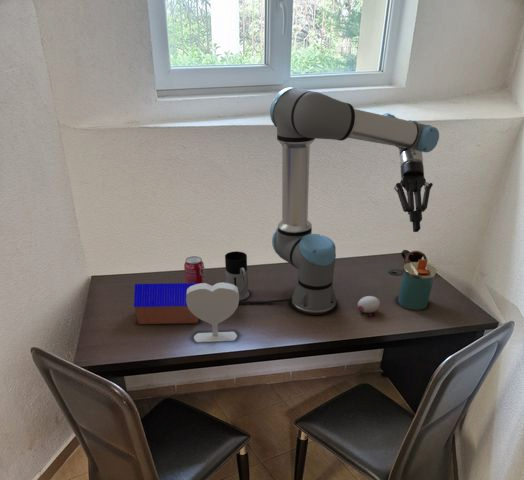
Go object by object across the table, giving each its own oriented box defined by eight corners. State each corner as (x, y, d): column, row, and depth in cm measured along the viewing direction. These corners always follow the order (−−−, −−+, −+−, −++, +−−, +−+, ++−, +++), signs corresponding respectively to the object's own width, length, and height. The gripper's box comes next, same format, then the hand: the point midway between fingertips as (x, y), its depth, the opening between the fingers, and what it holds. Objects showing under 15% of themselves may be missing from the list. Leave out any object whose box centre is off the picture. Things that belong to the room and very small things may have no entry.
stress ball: (373, 315, 161) (370, 296, 161) (384, 313, 153) (382, 293, 153) (353, 318, 159) (351, 298, 159) (364, 316, 151) (361, 296, 151)
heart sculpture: (240, 331, 147) (238, 280, 137) (240, 340, 143) (238, 288, 133) (191, 333, 146) (185, 282, 136) (190, 342, 142) (184, 290, 132)
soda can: (203, 284, 173) (201, 254, 166) (207, 292, 168) (205, 262, 161) (185, 286, 171) (181, 256, 164) (188, 295, 166) (185, 265, 159)
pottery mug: (430, 268, 185) (433, 256, 177) (414, 283, 183) (416, 271, 176) (407, 252, 190) (409, 240, 183) (391, 267, 188) (392, 254, 181)
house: (198, 323, 151) (195, 292, 144) (137, 324, 150) (131, 293, 144) (201, 305, 160) (198, 274, 154) (143, 305, 160) (138, 275, 153)
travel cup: (393, 295, 166) (400, 260, 158) (422, 294, 166) (430, 259, 158) (401, 310, 158) (409, 274, 149) (432, 310, 158) (441, 273, 150)
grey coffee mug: (244, 287, 171) (244, 249, 162) (257, 305, 160) (257, 265, 152) (222, 290, 169) (220, 252, 160) (233, 309, 158) (232, 269, 149)
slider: (416, 269, 154) (418, 259, 152) (425, 268, 154) (427, 259, 152) (419, 273, 151) (421, 264, 149) (428, 273, 151) (431, 264, 149)
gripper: (396, 160, 156) (401, 225, 152) (434, 159, 156) (440, 225, 153) (389, 172, 163) (394, 235, 160) (426, 171, 164) (431, 234, 160)
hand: (416, 230), depth 156 cm, fingers closed
